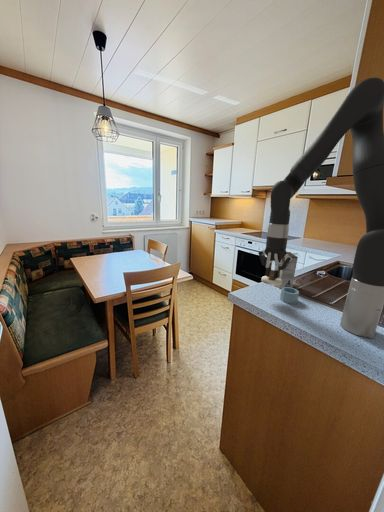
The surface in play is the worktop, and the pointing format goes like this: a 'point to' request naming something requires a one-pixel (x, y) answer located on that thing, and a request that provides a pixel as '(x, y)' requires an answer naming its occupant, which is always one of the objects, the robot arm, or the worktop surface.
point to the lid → (271, 279)
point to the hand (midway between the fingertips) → (271, 277)
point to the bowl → (289, 295)
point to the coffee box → (288, 272)
